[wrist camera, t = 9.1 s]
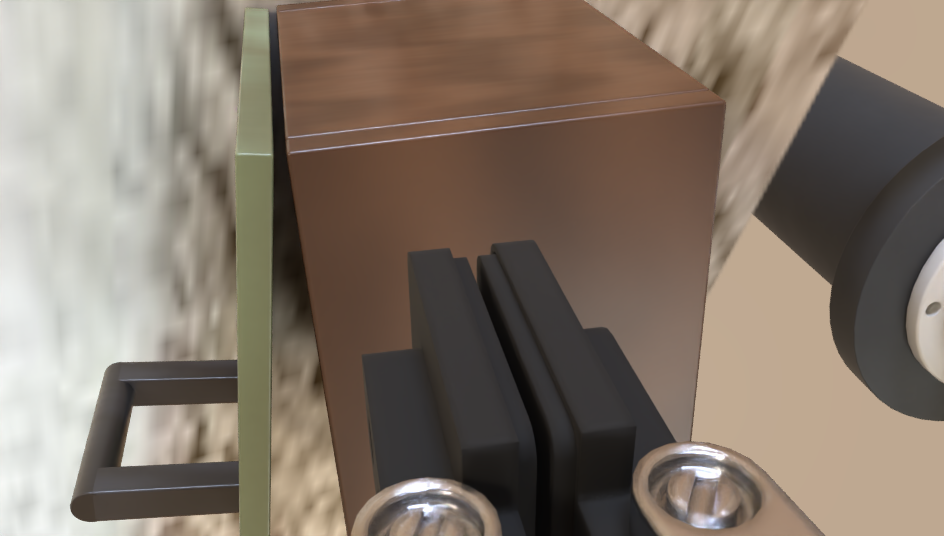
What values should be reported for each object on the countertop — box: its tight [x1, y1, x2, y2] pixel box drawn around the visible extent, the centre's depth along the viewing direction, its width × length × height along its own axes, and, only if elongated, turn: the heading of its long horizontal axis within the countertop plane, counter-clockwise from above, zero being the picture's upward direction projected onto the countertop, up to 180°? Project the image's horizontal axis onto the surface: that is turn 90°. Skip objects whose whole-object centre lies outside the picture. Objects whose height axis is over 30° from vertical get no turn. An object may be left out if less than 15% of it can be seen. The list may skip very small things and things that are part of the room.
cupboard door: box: [70, 8, 274, 536], centre depth 27 cm, size 6×15×14 cm, turn 174°
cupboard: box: [276, 0, 726, 536], centre depth 29 cm, size 10×15×14 cm
